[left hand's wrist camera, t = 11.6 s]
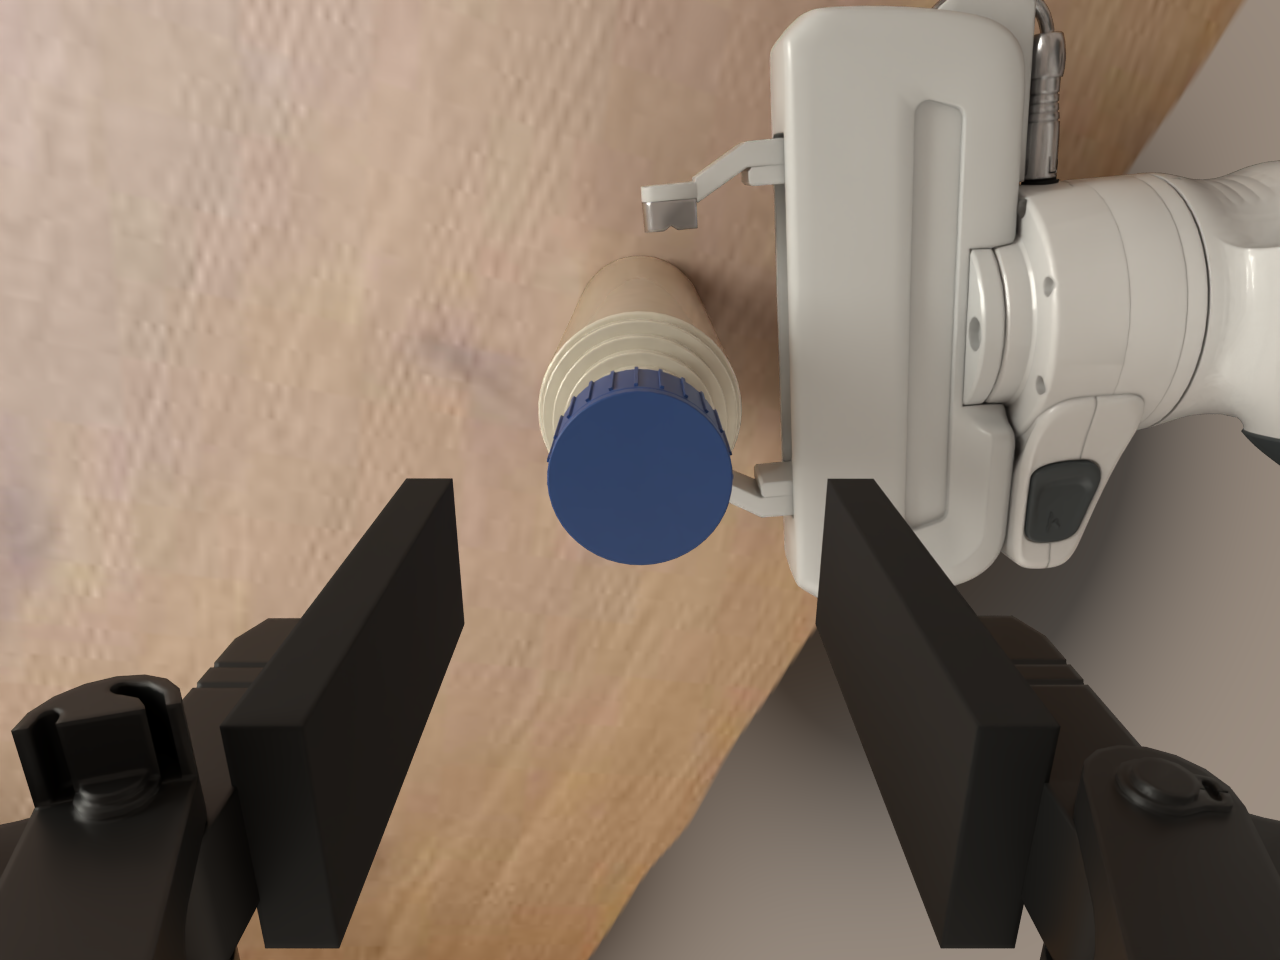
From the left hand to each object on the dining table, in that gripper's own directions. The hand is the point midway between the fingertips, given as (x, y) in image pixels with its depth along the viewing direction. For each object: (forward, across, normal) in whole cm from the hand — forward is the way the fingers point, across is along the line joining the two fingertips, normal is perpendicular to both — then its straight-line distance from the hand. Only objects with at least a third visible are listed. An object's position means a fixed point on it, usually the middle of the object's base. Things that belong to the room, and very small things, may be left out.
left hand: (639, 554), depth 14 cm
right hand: (+17, 0, 0) cm, 17 cm away
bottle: (+23, 0, 0) cm, 23 cm away
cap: (+4, 0, 0) cm, 4 cm away
